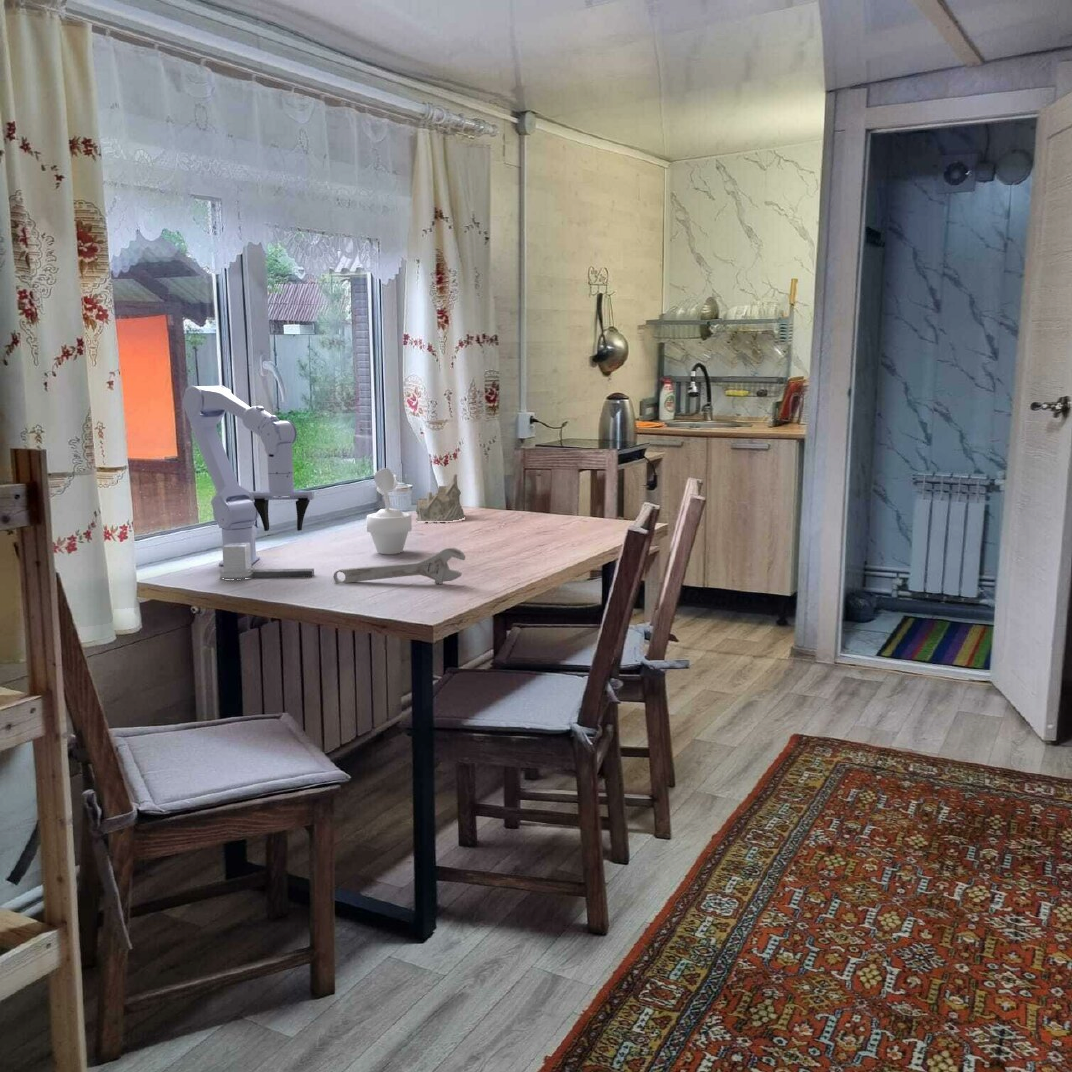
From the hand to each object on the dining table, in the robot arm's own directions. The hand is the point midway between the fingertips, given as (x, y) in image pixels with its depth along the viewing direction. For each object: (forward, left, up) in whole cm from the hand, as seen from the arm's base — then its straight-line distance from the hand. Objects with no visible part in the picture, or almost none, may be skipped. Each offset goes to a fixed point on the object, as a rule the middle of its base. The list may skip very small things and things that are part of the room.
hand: (283, 530), depth 238 cm
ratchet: (+8, -2, -10) cm, 13 cm away
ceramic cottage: (-77, +33, -10) cm, 84 cm away
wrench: (+17, +28, -10) cm, 35 cm away
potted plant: (-21, +23, -10) cm, 33 cm away
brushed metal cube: (+8, -9, -8) cm, 14 cm away
